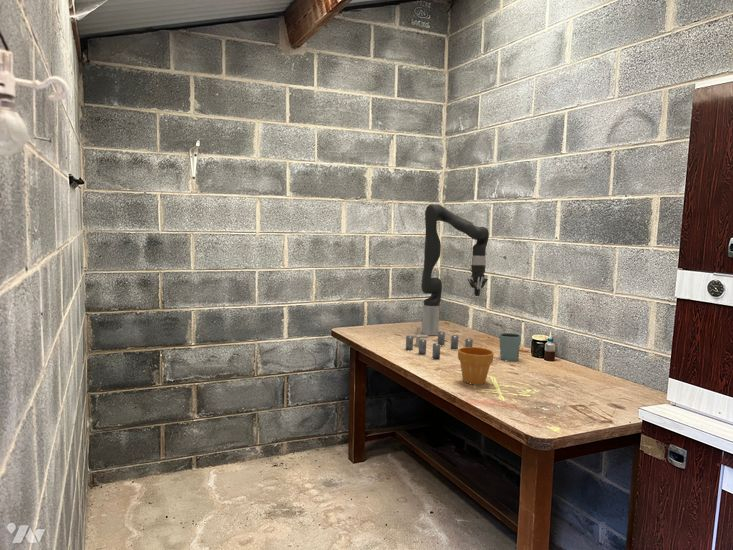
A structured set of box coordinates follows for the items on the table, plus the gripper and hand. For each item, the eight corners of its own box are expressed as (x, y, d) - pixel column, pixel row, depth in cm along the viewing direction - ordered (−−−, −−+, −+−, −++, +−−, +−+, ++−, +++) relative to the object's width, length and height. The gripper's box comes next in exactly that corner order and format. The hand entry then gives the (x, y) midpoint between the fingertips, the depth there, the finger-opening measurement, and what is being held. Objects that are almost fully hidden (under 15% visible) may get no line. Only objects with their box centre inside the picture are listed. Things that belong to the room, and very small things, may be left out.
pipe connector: (426, 343, 283) (427, 325, 282) (427, 348, 273) (428, 329, 272) (407, 343, 283) (408, 324, 282) (408, 347, 273) (409, 328, 272)
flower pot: (498, 382, 216) (499, 351, 215) (481, 389, 206) (483, 357, 204) (467, 374, 225) (469, 345, 224) (450, 381, 215) (451, 350, 213)
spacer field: (404, 349, 268) (404, 335, 268) (441, 344, 283) (441, 331, 282) (435, 359, 249) (436, 345, 248) (473, 353, 264) (474, 339, 263)
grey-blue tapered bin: (523, 361, 252) (525, 336, 250) (505, 362, 248) (506, 337, 247) (511, 356, 261) (513, 332, 260) (493, 357, 258) (495, 333, 257)
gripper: (482, 263, 290) (480, 294, 291) (464, 263, 282) (463, 295, 284) (492, 264, 284) (490, 296, 285) (474, 264, 276) (473, 297, 278)
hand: (476, 295), depth 285 cm, fingers closed
